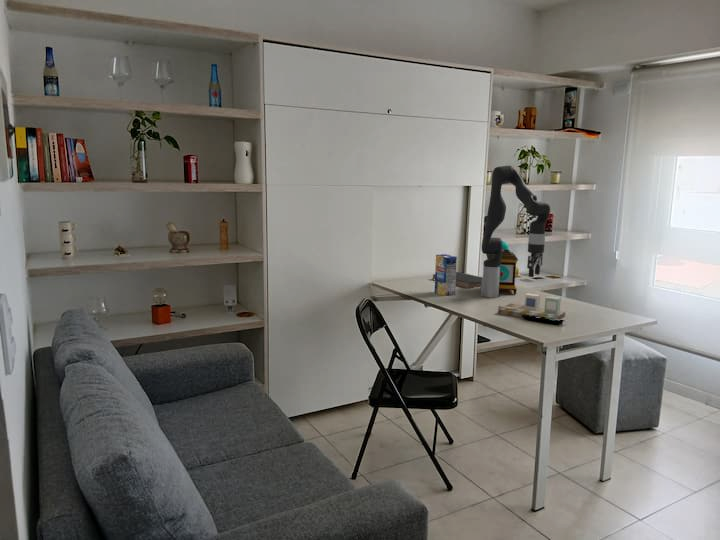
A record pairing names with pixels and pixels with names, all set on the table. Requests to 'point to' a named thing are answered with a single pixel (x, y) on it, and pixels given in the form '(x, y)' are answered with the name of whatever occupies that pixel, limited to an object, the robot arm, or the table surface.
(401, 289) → the table surface
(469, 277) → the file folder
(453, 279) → the beverage box
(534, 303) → the cream carton
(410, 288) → the table surface
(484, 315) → the table surface
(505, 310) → the walnut shelf
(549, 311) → the green carton
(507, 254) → the decorative lantern
